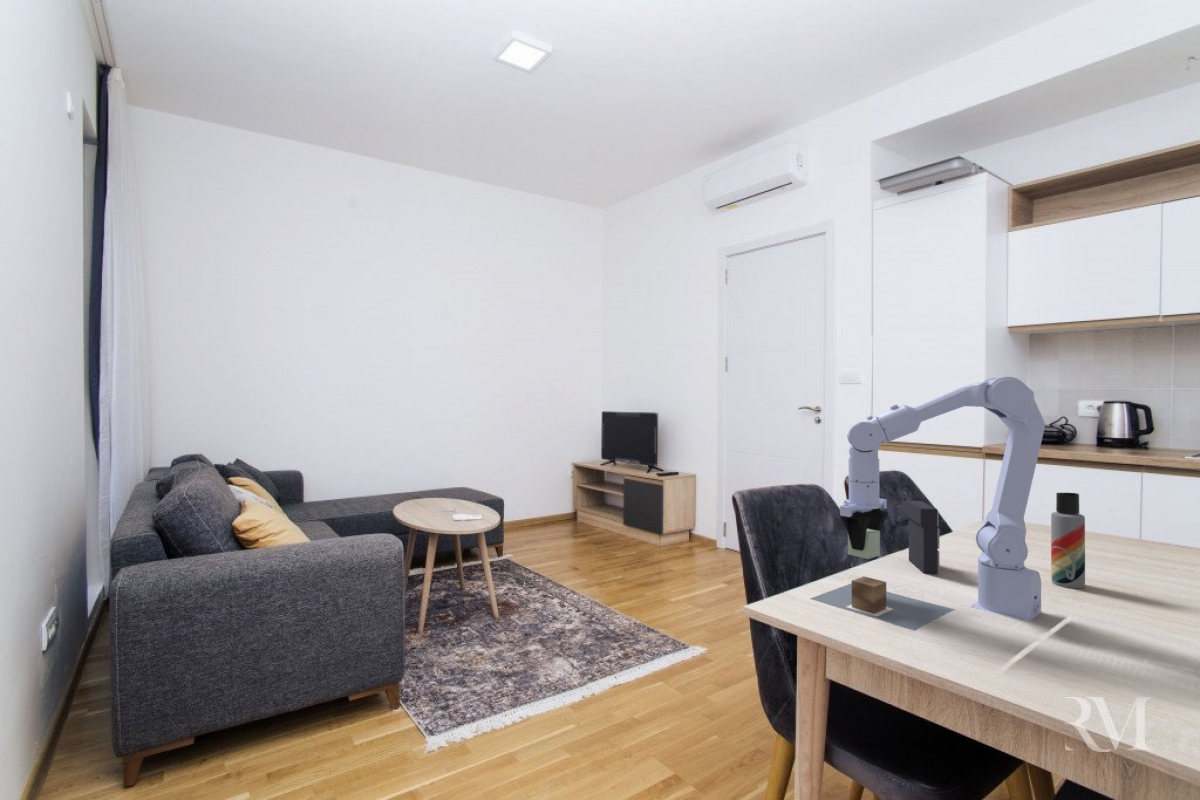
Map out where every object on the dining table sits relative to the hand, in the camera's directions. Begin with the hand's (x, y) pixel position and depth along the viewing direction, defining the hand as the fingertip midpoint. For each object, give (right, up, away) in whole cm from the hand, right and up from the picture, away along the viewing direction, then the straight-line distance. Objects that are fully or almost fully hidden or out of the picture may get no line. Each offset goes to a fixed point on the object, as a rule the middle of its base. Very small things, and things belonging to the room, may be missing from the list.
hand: (864, 547), depth 118 cm
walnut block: (-3, -9, -9) cm, 13 cm away
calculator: (+23, -10, +20) cm, 32 cm away
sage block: (0, -2, 0) cm, 2 cm away
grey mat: (0, -10, -6) cm, 12 cm away
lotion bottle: (+47, -10, +7) cm, 48 cm away
